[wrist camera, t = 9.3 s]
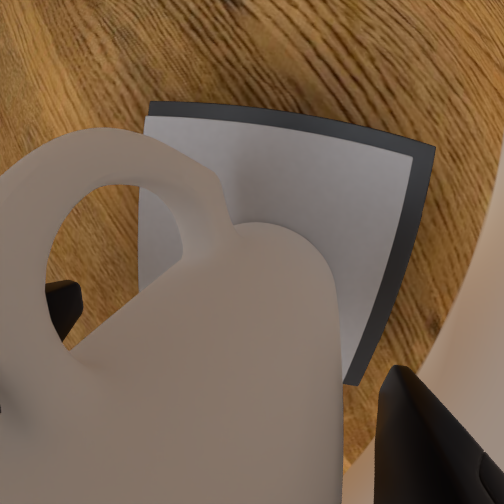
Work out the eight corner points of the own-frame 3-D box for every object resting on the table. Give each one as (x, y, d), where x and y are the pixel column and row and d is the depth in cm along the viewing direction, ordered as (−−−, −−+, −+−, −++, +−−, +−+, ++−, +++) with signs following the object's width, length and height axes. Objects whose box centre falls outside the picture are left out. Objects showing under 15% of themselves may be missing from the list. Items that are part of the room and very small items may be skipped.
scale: (423, 146, 12) (446, 148, 9) (359, 361, 16) (361, 396, 14) (172, 104, 14) (141, 99, 11) (160, 313, 18) (136, 338, 16)
